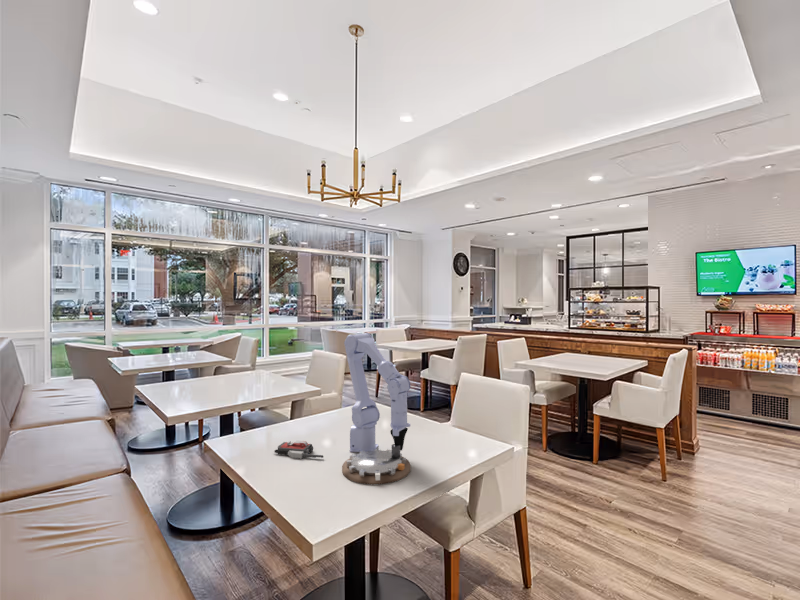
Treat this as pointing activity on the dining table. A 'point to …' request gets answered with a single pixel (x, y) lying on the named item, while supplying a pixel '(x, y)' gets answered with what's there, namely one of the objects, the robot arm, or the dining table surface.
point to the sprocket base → (376, 475)
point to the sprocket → (377, 462)
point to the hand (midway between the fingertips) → (399, 449)
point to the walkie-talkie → (296, 449)
